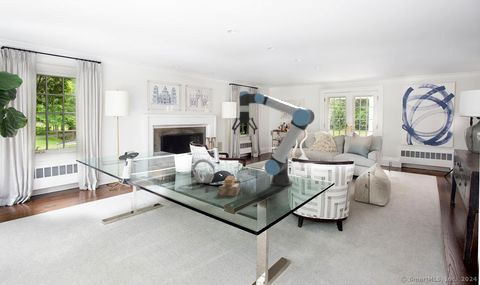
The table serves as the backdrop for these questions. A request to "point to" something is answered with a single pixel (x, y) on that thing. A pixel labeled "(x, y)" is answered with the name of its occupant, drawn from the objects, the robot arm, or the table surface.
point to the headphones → (199, 175)
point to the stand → (230, 189)
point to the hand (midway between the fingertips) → (244, 138)
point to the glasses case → (230, 181)
